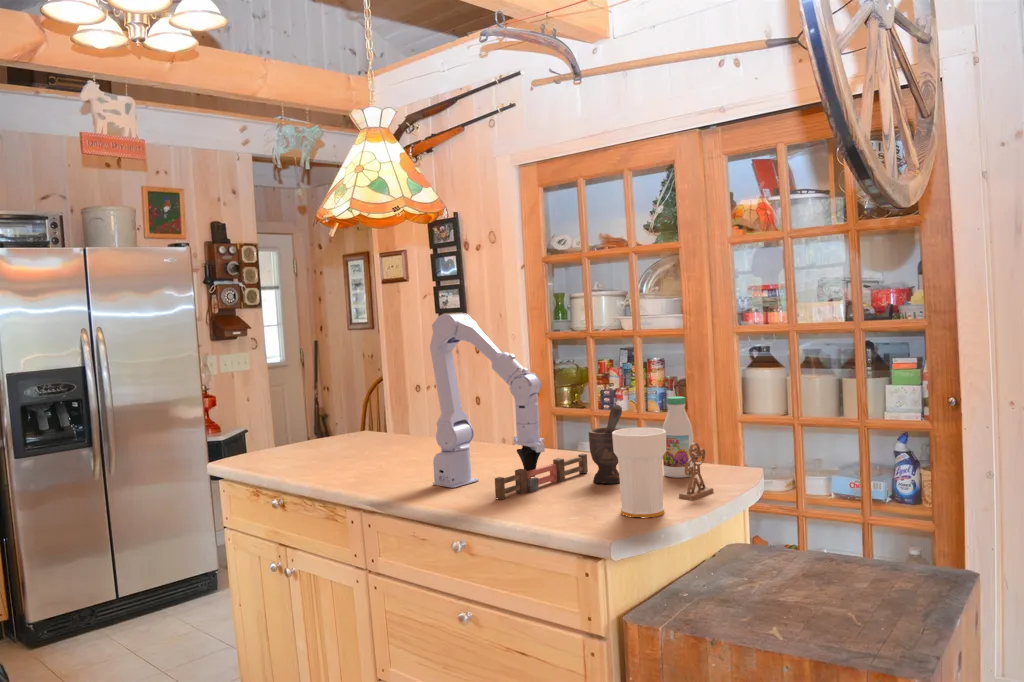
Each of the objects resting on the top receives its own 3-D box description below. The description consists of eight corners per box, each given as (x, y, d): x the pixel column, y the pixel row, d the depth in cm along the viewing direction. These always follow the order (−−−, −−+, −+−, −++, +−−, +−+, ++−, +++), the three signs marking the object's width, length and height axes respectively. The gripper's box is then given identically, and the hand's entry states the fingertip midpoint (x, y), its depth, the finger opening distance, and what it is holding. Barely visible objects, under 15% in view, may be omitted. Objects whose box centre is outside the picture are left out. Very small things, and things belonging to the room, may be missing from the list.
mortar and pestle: (641, 482, 198) (638, 402, 197) (618, 489, 192) (614, 406, 191) (607, 476, 207) (603, 399, 206) (583, 482, 201) (580, 403, 200)
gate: (553, 480, 204) (552, 463, 204) (557, 481, 203) (556, 464, 203) (524, 490, 195) (523, 472, 195) (528, 490, 195) (527, 472, 194)
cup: (642, 523, 162) (638, 437, 161) (604, 513, 171) (600, 432, 170) (681, 512, 169) (677, 430, 168) (642, 503, 178) (638, 425, 177)
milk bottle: (672, 470, 209) (669, 394, 208) (700, 473, 204) (696, 395, 203) (658, 476, 203) (654, 398, 202) (686, 479, 198) (682, 399, 197)
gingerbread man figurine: (693, 500, 178) (691, 447, 177) (678, 498, 181) (676, 445, 180) (714, 492, 184) (712, 440, 184) (699, 490, 187) (697, 439, 186)
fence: (504, 500, 187) (503, 477, 186) (495, 499, 189) (493, 476, 188) (591, 473, 211) (590, 452, 211) (582, 472, 213) (581, 451, 213)
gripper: (554, 424, 193) (557, 480, 194) (530, 417, 206) (533, 469, 207) (528, 427, 190) (531, 483, 191) (505, 420, 204) (508, 473, 204)
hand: (530, 476), depth 199 cm, fingers closed, pressing on gate
